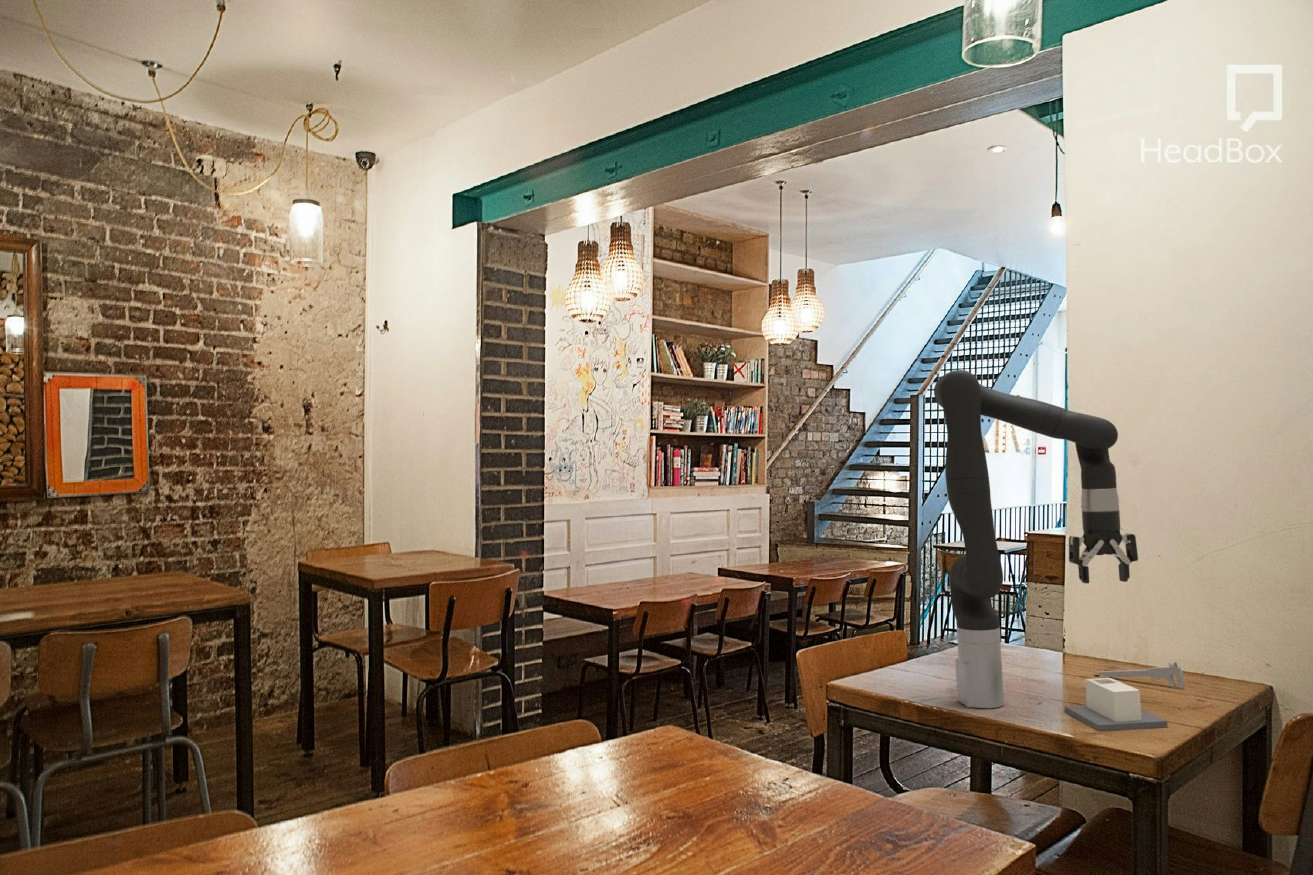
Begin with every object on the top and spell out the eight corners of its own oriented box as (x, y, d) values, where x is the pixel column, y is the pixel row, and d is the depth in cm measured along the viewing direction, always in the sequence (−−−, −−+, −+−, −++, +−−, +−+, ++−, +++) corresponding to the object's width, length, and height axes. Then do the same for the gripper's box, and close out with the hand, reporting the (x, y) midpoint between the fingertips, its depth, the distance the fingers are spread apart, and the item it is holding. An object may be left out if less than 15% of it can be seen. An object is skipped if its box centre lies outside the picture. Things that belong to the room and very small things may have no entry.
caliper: (1184, 689, 209) (1182, 662, 209) (1182, 690, 208) (1181, 663, 208) (1095, 676, 225) (1093, 650, 225) (1093, 676, 224) (1091, 651, 224)
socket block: (1115, 721, 183) (1113, 691, 183) (1086, 707, 194) (1085, 678, 194) (1141, 720, 183) (1139, 690, 183) (1111, 705, 194) (1109, 677, 194)
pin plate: (1099, 731, 181) (1097, 699, 181) (1064, 711, 195) (1063, 682, 195) (1167, 726, 182) (1165, 695, 182) (1128, 708, 196) (1126, 679, 196)
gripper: (1076, 511, 197) (1081, 586, 197) (1141, 508, 197) (1145, 582, 197) (1060, 509, 205) (1064, 581, 204) (1123, 506, 205) (1127, 578, 204)
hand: (1104, 582), depth 201 cm, fingers open, 8 cm apart
